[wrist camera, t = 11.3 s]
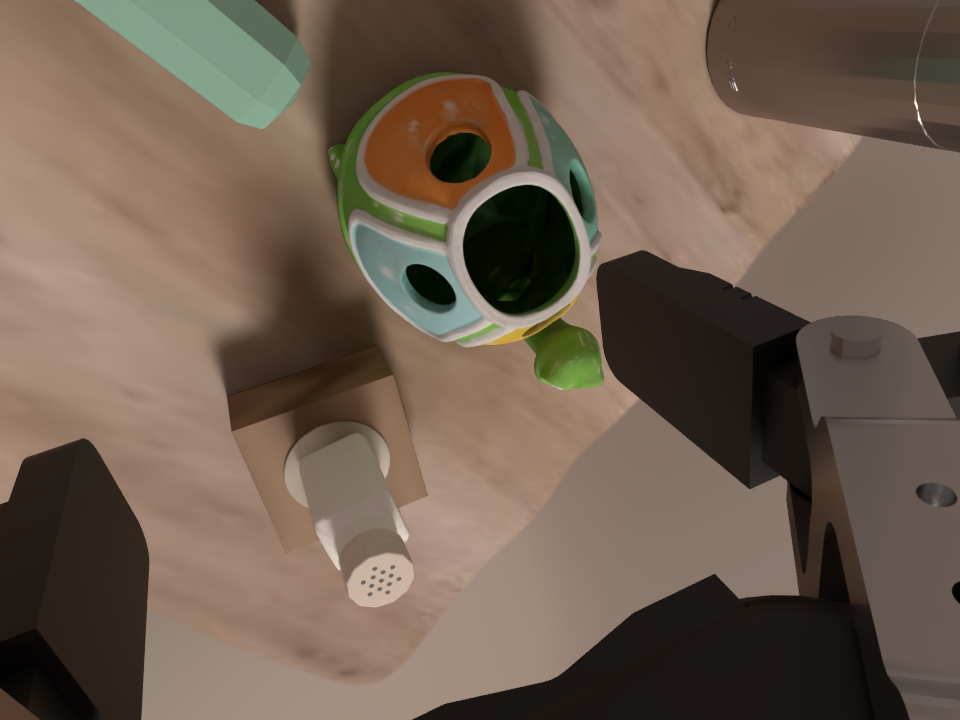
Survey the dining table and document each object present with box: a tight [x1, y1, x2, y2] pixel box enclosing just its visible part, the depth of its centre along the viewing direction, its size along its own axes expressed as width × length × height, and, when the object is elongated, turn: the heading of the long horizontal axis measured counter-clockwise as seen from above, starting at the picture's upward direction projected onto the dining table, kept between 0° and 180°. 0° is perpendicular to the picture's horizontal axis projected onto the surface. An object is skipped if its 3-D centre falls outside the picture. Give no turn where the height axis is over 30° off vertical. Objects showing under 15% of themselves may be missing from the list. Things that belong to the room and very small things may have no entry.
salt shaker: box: [299, 433, 414, 607], centre depth 35 cm, size 4×4×10 cm
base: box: [227, 346, 428, 553], centre depth 41 cm, size 9×9×4 cm
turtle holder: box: [328, 72, 604, 390], centre depth 36 cm, size 12×18×12 cm
